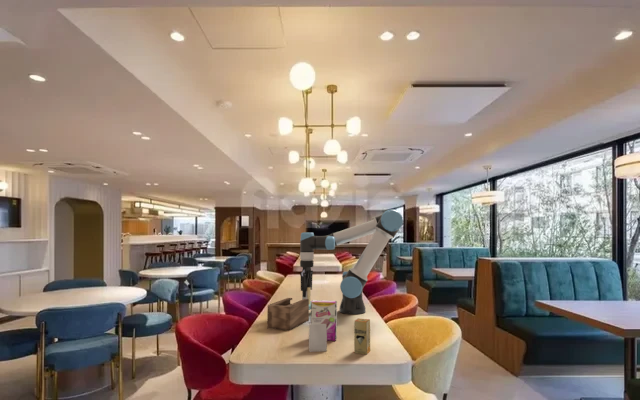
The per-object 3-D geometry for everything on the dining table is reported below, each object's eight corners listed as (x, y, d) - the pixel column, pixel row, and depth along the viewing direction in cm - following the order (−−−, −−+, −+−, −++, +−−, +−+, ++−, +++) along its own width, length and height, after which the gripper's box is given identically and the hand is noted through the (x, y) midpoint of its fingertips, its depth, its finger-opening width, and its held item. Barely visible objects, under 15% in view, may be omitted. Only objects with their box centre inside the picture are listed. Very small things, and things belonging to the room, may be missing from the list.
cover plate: (319, 305, 228) (320, 286, 229) (306, 311, 209) (306, 290, 210) (306, 303, 231) (306, 285, 232) (291, 310, 212) (292, 289, 213)
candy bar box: (310, 340, 168) (310, 301, 170) (311, 337, 173) (311, 299, 175) (336, 341, 167) (336, 302, 169) (337, 338, 172) (337, 300, 174)
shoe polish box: (358, 349, 156) (357, 318, 157) (370, 350, 154) (370, 319, 155) (354, 352, 152) (354, 320, 153) (366, 354, 150) (366, 322, 151)
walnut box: (308, 320, 207) (308, 299, 208) (290, 330, 185) (290, 306, 186) (287, 318, 211) (288, 297, 212) (267, 328, 190) (267, 305, 190)
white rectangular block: (326, 351, 154) (326, 325, 155) (309, 351, 153) (309, 325, 154) (325, 348, 157) (325, 322, 158) (308, 348, 157) (308, 323, 158)
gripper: (306, 258, 231) (305, 299, 229) (294, 260, 216) (294, 304, 214) (318, 259, 228) (317, 300, 227) (307, 261, 213) (306, 305, 211)
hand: (306, 302), depth 220 cm, fingers closed on cover plate, 3 cm apart
